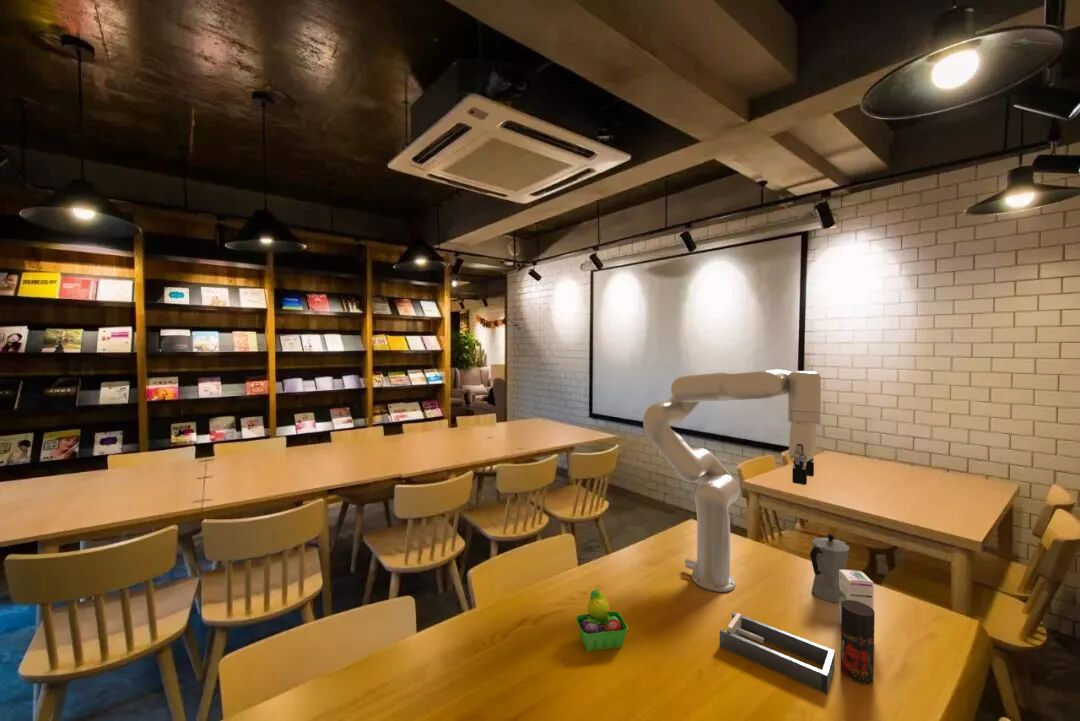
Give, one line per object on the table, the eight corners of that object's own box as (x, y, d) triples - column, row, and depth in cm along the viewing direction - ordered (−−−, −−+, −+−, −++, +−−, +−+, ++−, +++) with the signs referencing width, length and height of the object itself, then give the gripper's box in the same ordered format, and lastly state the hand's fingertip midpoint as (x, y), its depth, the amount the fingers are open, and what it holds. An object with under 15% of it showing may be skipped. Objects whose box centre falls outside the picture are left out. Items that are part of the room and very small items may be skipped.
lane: (719, 646, 106) (719, 630, 106) (733, 627, 113) (733, 611, 113) (826, 694, 91) (827, 675, 91) (834, 667, 99) (834, 650, 99)
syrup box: (874, 639, 108) (875, 582, 108) (847, 636, 109) (848, 579, 109) (862, 625, 114) (863, 570, 113) (837, 622, 115) (838, 568, 115)
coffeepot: (827, 581, 135) (827, 524, 135) (860, 597, 127) (861, 536, 126) (795, 594, 128) (795, 533, 128) (828, 611, 120) (828, 547, 119)
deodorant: (834, 665, 100) (834, 600, 99) (858, 663, 100) (859, 599, 100) (854, 685, 94) (855, 616, 93) (880, 683, 94) (881, 615, 94)
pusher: (727, 644, 106) (727, 626, 106) (737, 629, 111) (737, 612, 111) (758, 658, 101) (758, 639, 101) (767, 642, 107) (767, 623, 107)
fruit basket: (583, 655, 103) (582, 608, 103) (574, 631, 112) (574, 588, 112) (629, 650, 105) (629, 604, 105) (616, 627, 114) (616, 584, 113)
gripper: (795, 412, 127) (794, 470, 127) (780, 419, 114) (780, 484, 114) (825, 414, 122) (825, 475, 123) (814, 422, 109) (813, 490, 110)
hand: (803, 479), depth 118 cm, fingers open, 9 cm apart
